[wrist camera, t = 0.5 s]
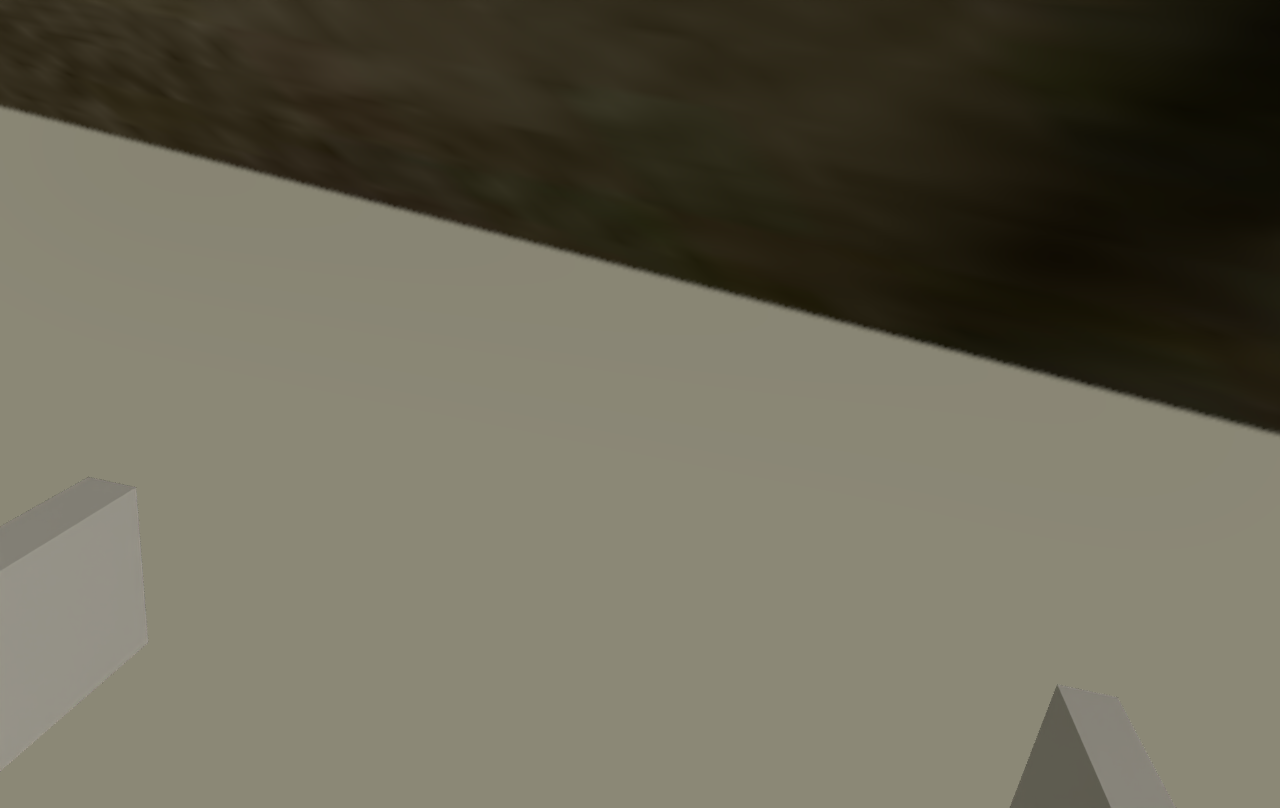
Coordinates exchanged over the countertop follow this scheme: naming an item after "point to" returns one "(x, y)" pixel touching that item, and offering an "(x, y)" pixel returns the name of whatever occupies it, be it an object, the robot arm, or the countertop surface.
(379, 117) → the countertop surface
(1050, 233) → the countertop surface
